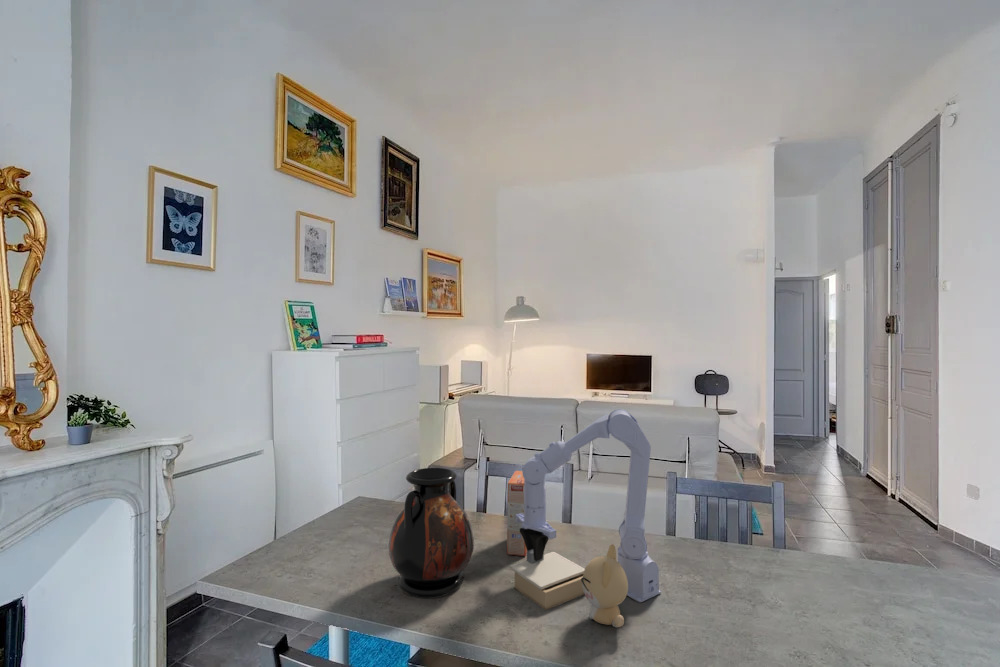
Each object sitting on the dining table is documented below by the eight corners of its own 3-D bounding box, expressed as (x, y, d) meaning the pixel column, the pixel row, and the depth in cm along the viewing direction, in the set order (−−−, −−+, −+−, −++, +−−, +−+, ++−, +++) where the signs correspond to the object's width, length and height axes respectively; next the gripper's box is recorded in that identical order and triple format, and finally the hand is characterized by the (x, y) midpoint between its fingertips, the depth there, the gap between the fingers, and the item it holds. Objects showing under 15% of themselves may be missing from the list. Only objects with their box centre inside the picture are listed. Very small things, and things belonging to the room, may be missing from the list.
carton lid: (586, 572, 120) (586, 559, 120) (541, 589, 112) (541, 575, 112) (553, 553, 131) (553, 541, 131) (509, 568, 122) (509, 555, 122)
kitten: (589, 597, 116) (588, 535, 117) (632, 606, 113) (631, 541, 113) (575, 633, 102) (575, 561, 103) (623, 643, 99) (623, 569, 99)
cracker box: (527, 557, 138) (526, 483, 138) (506, 555, 139) (506, 482, 140) (533, 537, 152) (533, 470, 152) (514, 536, 153) (514, 469, 153)
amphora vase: (426, 557, 138) (425, 459, 139) (489, 576, 127) (489, 469, 127) (369, 591, 120) (369, 477, 120) (439, 616, 109) (438, 491, 109)
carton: (589, 592, 119) (589, 575, 119) (545, 610, 111) (545, 592, 111) (557, 572, 129) (557, 557, 129) (514, 588, 121) (514, 572, 121)
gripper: (506, 500, 129) (506, 551, 129) (540, 516, 117) (541, 572, 117) (527, 495, 133) (527, 544, 133) (562, 510, 121) (562, 565, 121)
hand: (535, 557), depth 125 cm, fingers closed on carton lid, 2 cm apart
